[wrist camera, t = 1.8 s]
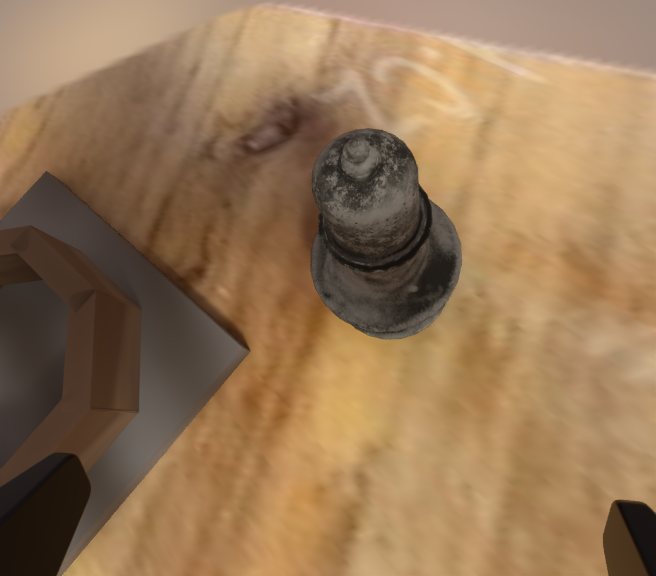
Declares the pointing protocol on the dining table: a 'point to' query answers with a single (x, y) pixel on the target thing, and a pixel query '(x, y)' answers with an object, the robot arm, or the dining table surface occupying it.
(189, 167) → the dining table surface
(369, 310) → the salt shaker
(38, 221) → the socket
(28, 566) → the robot arm
